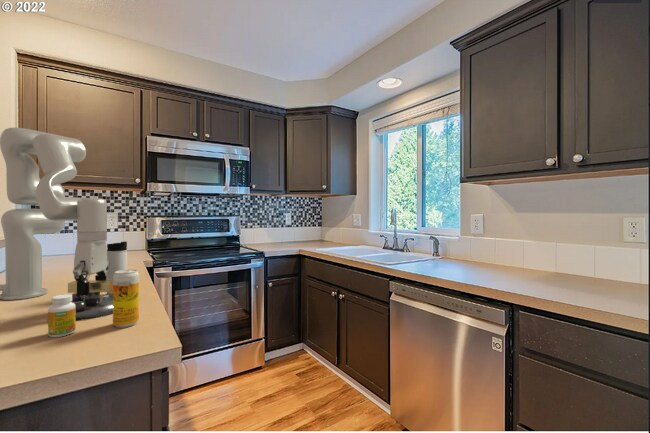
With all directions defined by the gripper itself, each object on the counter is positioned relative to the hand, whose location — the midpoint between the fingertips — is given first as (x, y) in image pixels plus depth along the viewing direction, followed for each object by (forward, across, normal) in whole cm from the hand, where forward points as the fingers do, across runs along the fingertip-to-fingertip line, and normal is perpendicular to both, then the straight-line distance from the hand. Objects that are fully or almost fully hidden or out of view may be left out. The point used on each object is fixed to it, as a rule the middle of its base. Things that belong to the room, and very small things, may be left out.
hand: (92, 291), depth 98 cm
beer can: (+6, +14, +16) cm, 22 cm away
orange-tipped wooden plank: (+4, 0, 0) cm, 4 cm away
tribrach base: (+6, 0, 0) cm, 6 cm away
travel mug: (+6, -18, -1) cm, 19 cm away
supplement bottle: (+6, +19, +3) cm, 20 cm away
